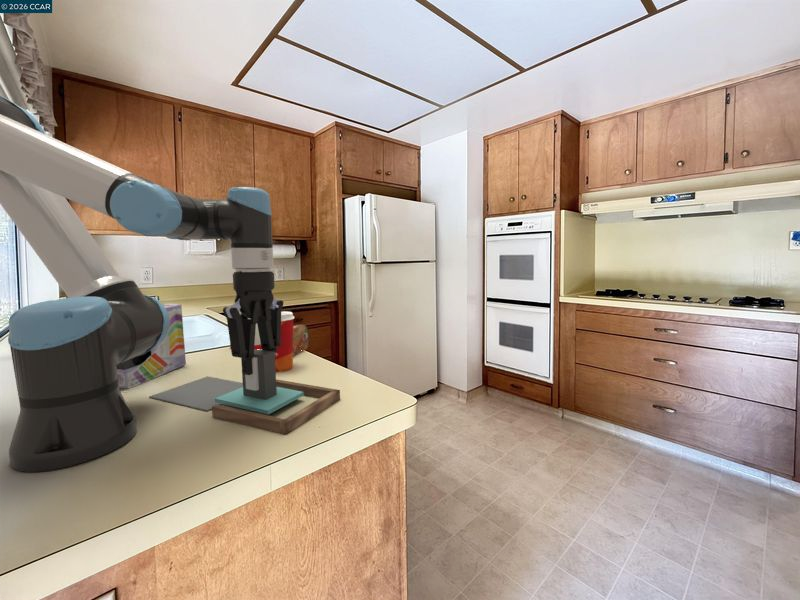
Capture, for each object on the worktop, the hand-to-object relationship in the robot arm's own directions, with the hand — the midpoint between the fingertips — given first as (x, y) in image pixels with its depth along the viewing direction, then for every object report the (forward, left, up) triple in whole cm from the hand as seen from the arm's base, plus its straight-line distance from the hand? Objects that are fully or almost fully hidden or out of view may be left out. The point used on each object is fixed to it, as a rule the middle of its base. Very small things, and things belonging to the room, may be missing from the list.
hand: (259, 385), depth 73 cm
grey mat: (0, +16, -4) cm, 16 cm away
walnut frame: (0, -4, -4) cm, 6 cm away
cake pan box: (+2, +39, -4) cm, 39 cm away
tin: (+34, +20, -4) cm, 40 cm away
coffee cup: (+20, +13, -4) cm, 24 cm away
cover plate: (0, 0, -3) cm, 3 cm away
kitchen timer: (+36, +40, -4) cm, 54 cm away
